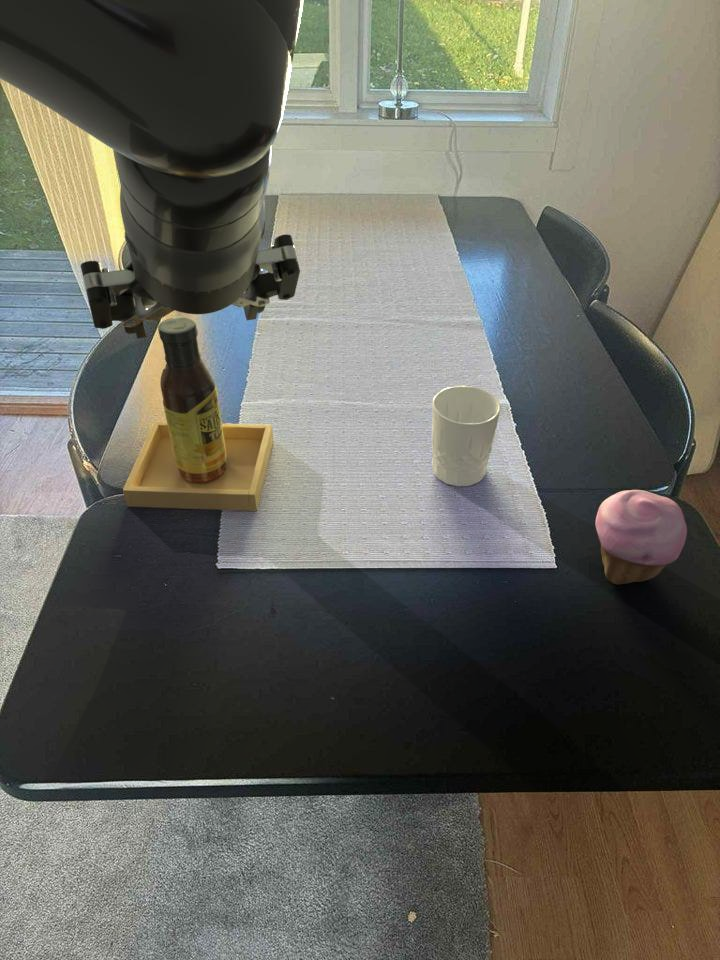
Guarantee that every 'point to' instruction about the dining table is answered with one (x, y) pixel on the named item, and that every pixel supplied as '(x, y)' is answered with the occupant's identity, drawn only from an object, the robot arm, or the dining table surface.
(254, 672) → the dining table surface
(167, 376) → the sauce bottle
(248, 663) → the dining table surface
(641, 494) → the cupcake
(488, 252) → the dining table surface
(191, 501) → the serving tray
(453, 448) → the white cup
